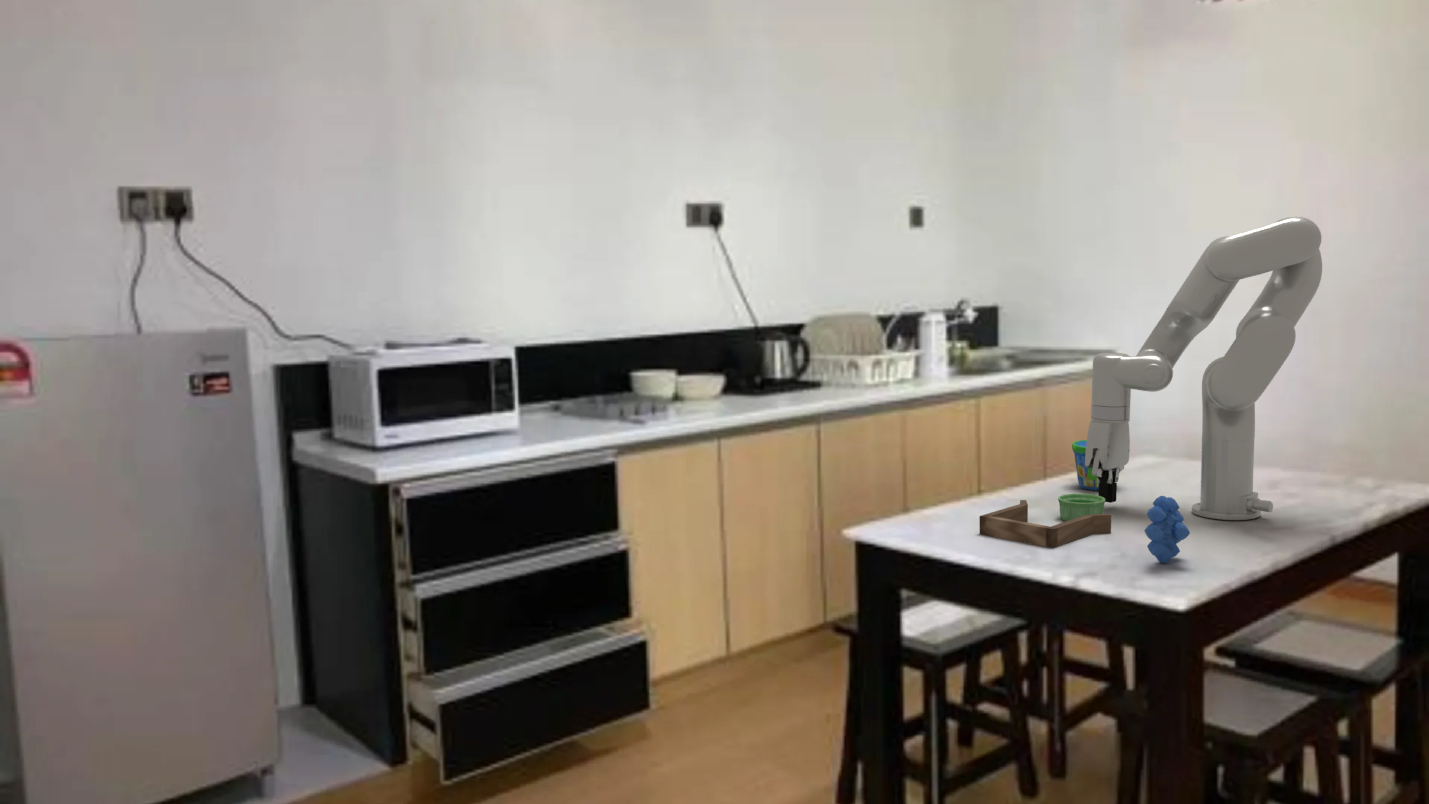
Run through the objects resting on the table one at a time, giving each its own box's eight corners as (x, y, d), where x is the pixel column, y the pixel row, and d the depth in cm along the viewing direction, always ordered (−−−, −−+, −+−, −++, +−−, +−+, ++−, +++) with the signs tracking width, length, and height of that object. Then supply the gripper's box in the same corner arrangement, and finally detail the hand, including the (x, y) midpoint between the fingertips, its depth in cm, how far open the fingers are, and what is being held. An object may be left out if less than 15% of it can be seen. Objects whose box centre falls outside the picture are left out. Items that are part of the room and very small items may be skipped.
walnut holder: (1112, 532, 216) (1113, 514, 216) (1062, 550, 205) (1063, 531, 205) (1022, 516, 231) (1022, 499, 231) (970, 532, 220) (970, 514, 220)
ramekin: (1104, 526, 222) (1104, 504, 221) (1056, 523, 225) (1056, 501, 224) (1105, 515, 230) (1105, 494, 230) (1059, 513, 233) (1059, 492, 233)
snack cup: (1114, 496, 246) (1115, 450, 245) (1064, 493, 251) (1065, 447, 250) (1126, 482, 260) (1127, 438, 258) (1079, 479, 265) (1079, 436, 264)
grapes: (1175, 575, 188) (1176, 503, 186) (1135, 568, 193) (1136, 498, 191) (1202, 559, 196) (1204, 491, 195) (1163, 553, 201) (1165, 486, 199)
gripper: (1112, 407, 240) (1109, 492, 242) (1074, 415, 230) (1071, 504, 233) (1145, 411, 234) (1142, 498, 237) (1108, 419, 225) (1104, 510, 227)
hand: (1107, 501), depth 235 cm, fingers closed
